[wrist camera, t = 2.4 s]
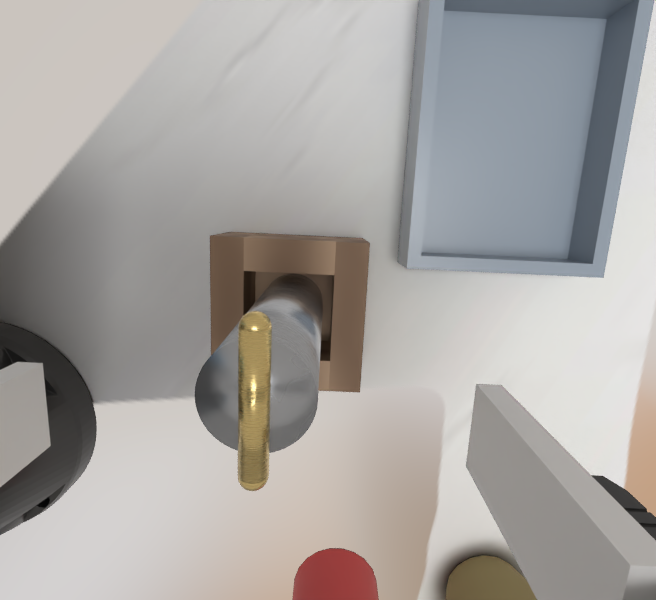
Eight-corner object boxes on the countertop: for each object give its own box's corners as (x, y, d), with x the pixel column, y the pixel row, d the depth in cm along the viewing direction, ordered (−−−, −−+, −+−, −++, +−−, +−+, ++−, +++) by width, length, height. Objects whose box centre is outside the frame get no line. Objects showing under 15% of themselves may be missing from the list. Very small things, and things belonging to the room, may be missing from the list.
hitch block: (230, 357, 30) (211, 385, 25) (230, 231, 28) (210, 235, 23) (354, 363, 30) (359, 392, 25) (362, 238, 28) (369, 243, 23)
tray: (397, 261, 29) (406, 268, 25) (418, 1, 25) (432, -33, 22) (570, 270, 29) (603, 277, 25) (613, 10, 26) (658, -21, 22)
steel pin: (263, 343, 29) (187, 495, 13) (264, 257, 28) (183, 312, 12) (320, 346, 29) (313, 500, 13) (324, 259, 28) (321, 318, 12)
